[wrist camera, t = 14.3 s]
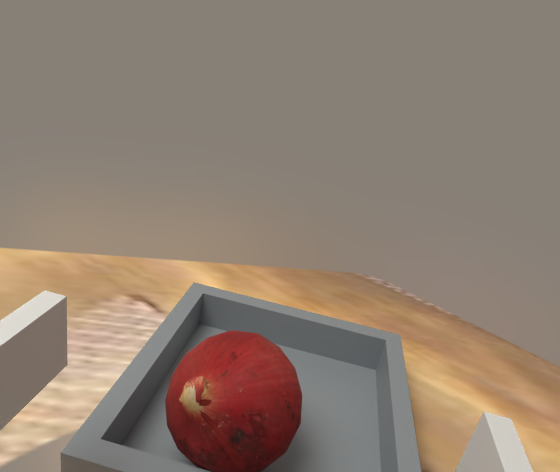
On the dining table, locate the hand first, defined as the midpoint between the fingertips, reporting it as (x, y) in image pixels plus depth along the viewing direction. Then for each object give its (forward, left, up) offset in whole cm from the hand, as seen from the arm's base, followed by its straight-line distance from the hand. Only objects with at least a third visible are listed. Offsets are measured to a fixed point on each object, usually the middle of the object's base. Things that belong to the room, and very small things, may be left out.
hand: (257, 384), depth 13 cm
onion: (+4, -5, -7) cm, 10 cm away
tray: (+4, -6, -9) cm, 11 cm away
